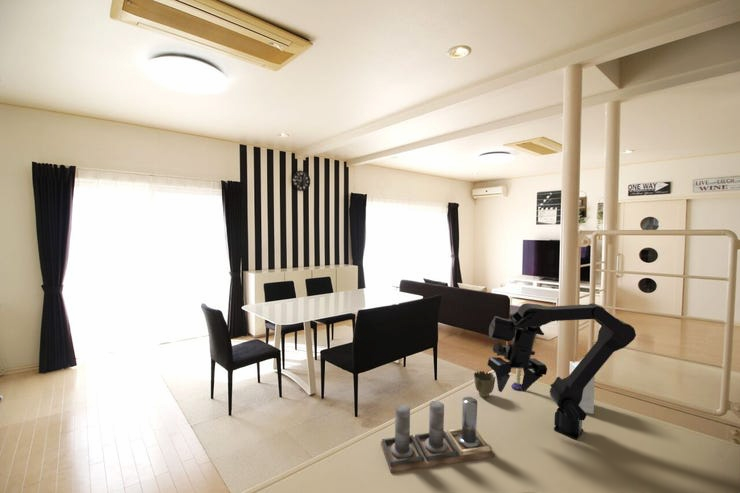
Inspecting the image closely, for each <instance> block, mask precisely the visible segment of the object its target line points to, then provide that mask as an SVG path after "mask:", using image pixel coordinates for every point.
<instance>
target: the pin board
mask: <svg viewBox="0 0 740 493" xmlns="http://www.w3.org/2000/svg"><path fill="white" fill-rule="evenodd" d="M394 408H395V411H394V412H395V414H394V415H395V417H394V422H395V423H394V437H388V438H382V439H381V440H380V446H381V447H380V448H381V449H382V452H383V455H384V458H385V461H386V464H387V466H388V469H389V472H390V473H399V472H404V471H411V470H416V469H417V470H418V469H422V468H423V469H424V468H429V467H435V466H443V465H449V464H456V463H461V462H467V461H468V462H469V461H474V460H480V459H487V458H492V457H493V458H494V457H495V456H494V455H495V453H494V451H493V450H492V449H493V448H492V445H490V443H489V442H488V441H487V439H486V438H485V437H484V436H483V435H482V433H481V432H480V431H479V430H478V429H477V428H476V436H477V437H478V438H479V440H480V445H479V447H477V448H470V449H467V448H464V447H463V446H461V445H460V444H459V442H458V435H459V434H461V433H462V427H461V428H455V429H447V430H446V431H445V428H444V426H445V425H444V423H445V404H444V403H443V402H442V401H438V400H434V401H430V402H429V411H428V413H429V415H428V416H429V419H428V423H429V424H428V432H425V433H418V434H415V435H414V436H413V434H410V433H411V432H410V431H411V430H410V429H411V427H410V426H411V408H410V406H408V405H406V404H399V405H396V406H395V407H394Z"/></svg>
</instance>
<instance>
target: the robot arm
mask: <svg viewBox="0 0 740 493" xmlns="http://www.w3.org/2000/svg"><path fill="white" fill-rule="evenodd" d="M581 320H594V321H595V322H596V323H597V324H599V325H600V328H599V329H598V334H597V340H596V341H595V343H594V344H593V345H592V346H591V348H590V349H589V350H588V351H587V353H586V354H585V355H584V357H583V358H582V359H581V360H580V361H579V362H580V363H579V364H578V365H577V366H576V368H575V369H574V370H573V371H572V373H571V374H570V373H569V375H568V376H567V377H564V378H561V377H560V376H557V377H556V378H555V380H554V382H553V383H551V384H550V385H549V386H550V389H549V394H550V397H551V399H552V400H553V402H554V403H555V404H556V405H557V407H558V408H556V411H555V412H554V420H553V421H554V422H553V423H554V424H553V425H554V427H553V430H554V432H555V431H556V432H558V433H560V434H562V435H564V436H568V437H569V438H571V439H574V440H579V438H580V436H581V435H582V434H583V432H584V429H583V421H585V419H586V417H587V415H588V413H585V412H584V410H583V409H582V408H581V407H580V406H579V404H580V402H581V400H582V395H583V390H584V388H585V387H586V385H587V384H588V383H589V382H590V380H591V379H592V378H593V377H594V378H595V376H596V374H597V373H598V372H599V371H600V370H601V368H603V366H604V365H605V364H606V363H607V361H608V360H609V358H610V357H611V356H612V355H613V353H616V352H617V351H619V350H621V349H624V348H626V347H627V346H628V345H630V344H631V343H632V342H633V341H634V340H635V338H636V336H637V333H636V330H635V328H634V327H633V325H631V324H629V323H627V322H625V321H623V320H621V319H619V318H617V317H615V316H614V315H612V314H611V313H610V312H608V310H606V309H605V308H604V307H603V306H600V305H598V304H596V303H588V304H574V305H573V304H570V305H568V304H567V305H556V306H555V305H554V306H553V305H552V306H548V305H543V304H542V305H541V304H536V303H523V304H521V305H520V306H519V308H518V310H517V311H516V312H515V313H513V314H512V315H511V316H509V317H508V318H503V317H500V316H496V315H494V316H493V319H492V320H491V322H490V324H489V326H488V327H489V328H488V336H489V338H491V339H495V340H501V341H505V342H510V341H512V342H511V343H508V345H503V344H502V343H500V342H494V343H493V347H492V352H493V353H494V354H496V356H498V357H496V356H495V357H494V356H493V357H489V358H488V361H487V365H486V366H488V367H490V368H491V370H493V371H494V373H495V378H496V384H497V390H498V392H499V393H502V392H503V391H504V389H505V387H506V385H507V383H508V381H509V379H510V377H511V375H510V373H511V371H512V370H514V369H515V370H516V369H521V370H523V377H522V382H521V385H522V388H521V390H522V392H526V391H527V390H528V389H529V388H530V387H531V386H532V385H533V384H534V383H536V382H537V381H538V380H539V379H540V378H543V377H544V376H546V375H547V372H548V367H547V365H546V364H545V363H543V362H541V361H540V360H538V359H537V358H532V357H531V356H535V355H536V351H534V350H533V349H534V344H535V341H536V337H537V335H540V336H544V335H545V333H544V331H543V330H542V328H541V326H546V325H547V324H549V323H552V322H559V321H561V322H562V321H563V322H564V321H581ZM499 356H502V357H503V358H502V357H499ZM506 360H507V361H506Z"/></svg>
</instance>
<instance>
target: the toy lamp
mask: <svg viewBox="0 0 740 493" xmlns="http://www.w3.org/2000/svg"><path fill="white" fill-rule="evenodd" d="M515 371H516V372H515V380H514V381H515V382H513V383H512V384H511V388H512V389H513V390H515V391H518V392H519V391H520V392H521V391H522V390H521V388H522V383H521V377H522V369H515ZM522 392H523V391H522Z"/></svg>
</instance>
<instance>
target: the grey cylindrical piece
mask: <svg viewBox="0 0 740 493" xmlns="http://www.w3.org/2000/svg"><path fill="white" fill-rule="evenodd" d="M461 410H462V412H461V414H462V415H461V416H462V417H461V428H462V433H461V434H459V435H458V442H459V444H460V445H461V446H463V447H464V448H467V449H470V448H477V447H479V445H480V440H479V438H478V437H477V436H476V429H477V427H478V425H477V423H478V422H477V421H478V417H477V416H478V400H477V399H476V398H473V397H472V396H465V397H462V408H461Z"/></svg>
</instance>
